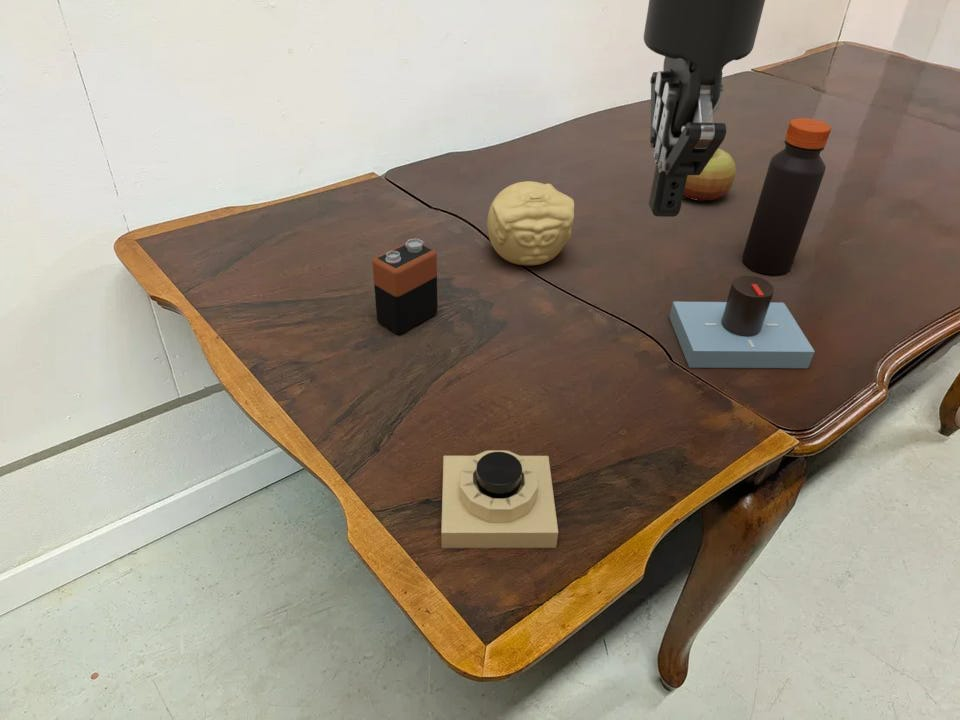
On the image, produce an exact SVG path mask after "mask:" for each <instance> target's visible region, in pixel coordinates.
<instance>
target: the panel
mask: <svg viewBox="0 0 960 720" xmlns="http://www.w3.org/2000/svg"><path fill="white" fill-rule="evenodd" d="M726 303H727V301H672V305H671V309H670V313H669V321H670V322H671V325H672V328H673V330H674V331H673V332H674V334H675V336H676V338H677V341H678V344H679V346H680V348H681V351H682V353H683V356H684V358H685V361H686V364H687V366H688V368H689V369H702V368H703V369H809V368H810V365H811V363H812V360H813V358H814V354H815V353H816V351H815V349H814V347H813V346H812V345H811V343H810V341H809V340H808V338H807V337H806V335H805V333H804V332H803V330H802V329H801V327H800V326H799V324H798V322H797V321H796V319H795V318H794V316H793V315H792V313H791V311H790V310H789V308H788V307H787V305H786V304H785V302H783V301H782V302H779V301H778V302H773V301H772V302H770V305H769V308H768V311H767V314H766V317H765V320H764V323H763V326H762V329H761V331H760V333H758V334H757V335H754V336H739V335H736V334H733V333H731V332H729V331H728V330H726V329H725V328H724V327H723V325H722V323H721V320H722V317H723V313H724V310H725V306H726Z"/></svg>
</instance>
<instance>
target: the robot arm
mask: <svg viewBox="0 0 960 720" xmlns="http://www.w3.org/2000/svg"><path fill="white" fill-rule="evenodd" d="M765 3H766V0H648V6H647V12H646V17H645V26H644V32H643V42H644V44H645V46H646V47H647V49H649V50H650V51H651V52H653V53H655V54H657V55H660V56H662V57H664V60H663V65H662V66H663V70H658V71H653V72H652V73H651V77H650V81H649V82H650V137H649V144H650V147H651V149H654V151H653V155H652V160H653V163H654V165H655V169H654V175H653V179H652V185H651V190H650V195H649V201H648V205H649V208H650V210H651V213H652V214H653V216H654V217H661V218H662V217H663V218H664V217H665V218H666V217H667V218H669V217H672V218H673V217H676V216H678V215H679V214H680V212H681V209H682V204H683V199H684V195H683V194H684V190H685V185H686V181H687V176H688V175H700V174H701V172H702V171H703V169H704V168H705V166H706V165H707V164H708V162H709V161H710V159H711V158H712V156H713V155H714V153H715V152H716V150H717V149H720V147H721V145H722V143H723V142H724V140H725V138H726V135H727V126H726V123H725V122H715V121H714V116H715V113H716V111H718V110H719V109H720V106H721V103H722V99H723V95H724V84H723V82H722V81H723V69H724V67H725V66H726V65H727V64H729V63H731V62H732V61H740V60H742V59H745V58H746V57H747V56H748V55H750V54H751V52H752V51H753V49H754V47H755V42H756V38H757V34H758V30H759V26H760V23H761V18H762V15H763V12H764V11H763V10H764V6H765Z"/></svg>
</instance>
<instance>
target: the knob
mask: <svg viewBox="0 0 960 720" xmlns="http://www.w3.org/2000/svg"><path fill="white" fill-rule="evenodd" d="M728 292H729V293H728V296H727V298H726V299H727V300H726V302H727V303H726V306H725V310H724V313H723V317H722V320H721V323H722V325H723V327H724V328H725V329H726V330H728V331H729V332H731V333H733V334H736V335H739V336H754V335H757V334H758V333H760V331H761V329H762V326H763V323H764V320H765V317H766V314H767V311H768V308H769V305H770V302H771V301H772V299H773V296H774V292H775V288H774V285H773V284H771V283H770V281H768V280H766V279H764V278H762V277H758V276H756V275H740V276H737V277H735V278H734V279H733V281H732V282H731V286H730V289H729V291H728Z"/></svg>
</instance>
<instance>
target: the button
mask: <svg viewBox="0 0 960 720" xmlns="http://www.w3.org/2000/svg"><path fill="white" fill-rule="evenodd" d="M521 479H522V466H521V463H520V462H519V460H518V459H517V458H516V457H515V456H513V455H511V454H509V453H505V452H492V453H488V454H486V455H484V456H483V457H482V458H481V459H480V460H479V461H478V463H477V468H476V483H477V486H478V488H479V490H480V491H481V492H482V493H484V494H485V495H487V496H489V497H492V498H507V497H510V496H512V495H514V494H515V493H516V492H517V491H518V490H519V488H520V486H521Z"/></svg>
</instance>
